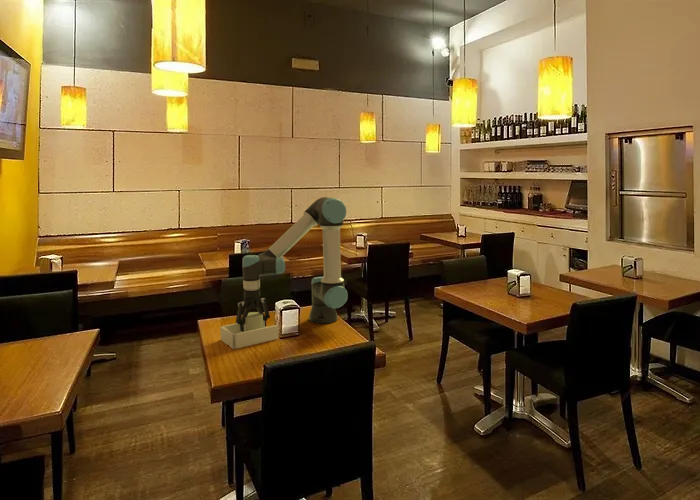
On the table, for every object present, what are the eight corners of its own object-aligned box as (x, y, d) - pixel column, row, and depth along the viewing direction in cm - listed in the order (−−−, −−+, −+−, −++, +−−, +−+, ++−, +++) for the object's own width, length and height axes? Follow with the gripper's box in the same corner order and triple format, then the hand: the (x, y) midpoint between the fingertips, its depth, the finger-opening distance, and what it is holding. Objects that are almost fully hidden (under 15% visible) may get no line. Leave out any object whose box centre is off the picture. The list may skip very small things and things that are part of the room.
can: (261, 341, 214) (260, 316, 212) (241, 341, 214) (240, 316, 212) (265, 335, 223) (264, 310, 221) (246, 335, 223) (245, 311, 221)
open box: (264, 330, 229) (264, 317, 228) (278, 338, 217) (278, 325, 216) (221, 339, 217) (220, 326, 216) (233, 349, 205) (232, 335, 204)
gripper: (269, 283, 224) (271, 328, 227) (226, 290, 211) (228, 338, 215) (276, 286, 218) (278, 332, 221) (232, 293, 205) (235, 342, 209)
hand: (253, 335), depth 218 cm, fingers closed on can, 9 cm apart
